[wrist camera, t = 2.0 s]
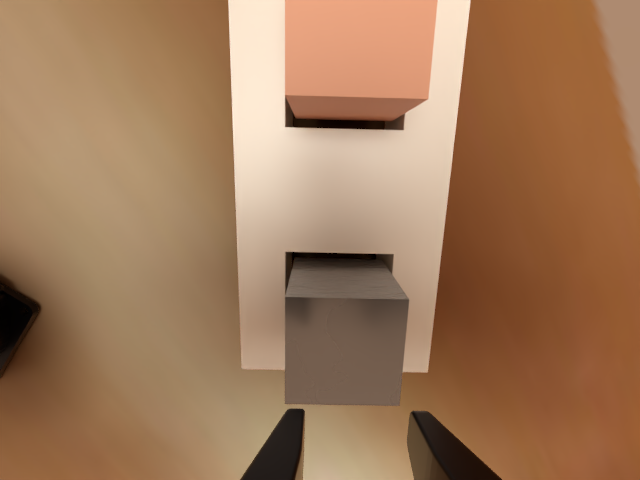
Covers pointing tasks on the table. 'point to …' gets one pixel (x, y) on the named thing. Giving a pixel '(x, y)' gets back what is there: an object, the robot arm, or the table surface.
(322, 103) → the terracotta plunger
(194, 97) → the table surface
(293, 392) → the grey cube
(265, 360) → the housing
